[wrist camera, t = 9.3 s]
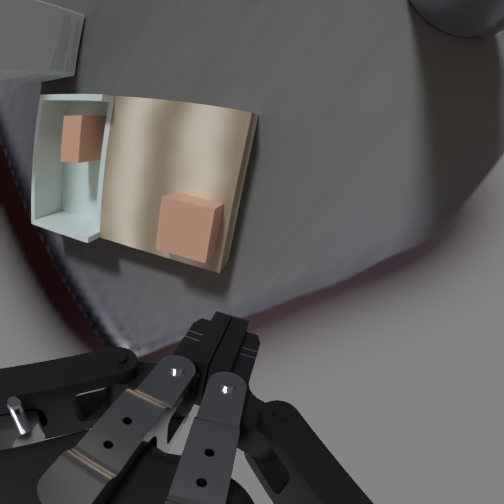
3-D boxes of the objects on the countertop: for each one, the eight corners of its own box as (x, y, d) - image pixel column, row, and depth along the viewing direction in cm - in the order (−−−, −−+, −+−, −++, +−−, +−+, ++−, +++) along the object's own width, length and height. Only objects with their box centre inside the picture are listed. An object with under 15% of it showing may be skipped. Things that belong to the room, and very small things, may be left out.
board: (258, 115, 26) (252, 112, 23) (228, 261, 31) (219, 273, 28) (131, 98, 28) (115, 96, 25) (115, 229, 33) (99, 237, 30)
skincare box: (52, 25, 26) (-43, 6, 11) (89, 14, 25) (-11, -19, 10) (40, 85, 29) (-62, 84, 14) (76, 79, 28) (-36, 69, 13)
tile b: (223, 203, 26) (214, 209, 24) (214, 253, 28) (205, 263, 26) (174, 191, 27) (161, 196, 24) (167, 240, 28) (155, 248, 26)
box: (131, 98, 28) (102, 94, 23) (115, 229, 33) (87, 243, 28) (70, 96, 28) (40, 94, 24) (59, 212, 33) (31, 223, 29)
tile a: (82, 115, 24) (63, 115, 24) (78, 163, 26) (60, 161, 26) (109, 116, 28) (91, 116, 28) (105, 158, 30) (88, 157, 30)
